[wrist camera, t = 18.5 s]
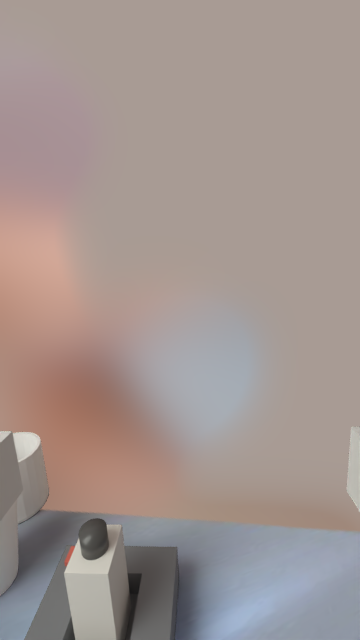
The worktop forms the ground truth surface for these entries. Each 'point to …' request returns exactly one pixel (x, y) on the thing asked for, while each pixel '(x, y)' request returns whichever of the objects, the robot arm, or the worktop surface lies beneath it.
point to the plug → (98, 583)
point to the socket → (145, 594)
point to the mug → (30, 475)
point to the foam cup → (8, 548)
